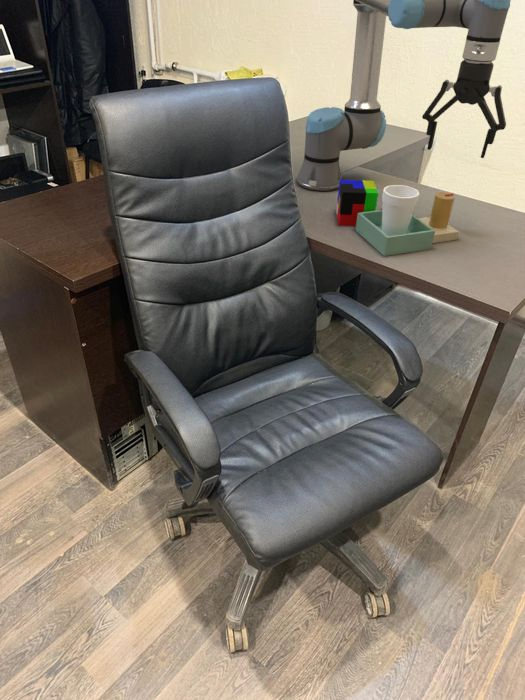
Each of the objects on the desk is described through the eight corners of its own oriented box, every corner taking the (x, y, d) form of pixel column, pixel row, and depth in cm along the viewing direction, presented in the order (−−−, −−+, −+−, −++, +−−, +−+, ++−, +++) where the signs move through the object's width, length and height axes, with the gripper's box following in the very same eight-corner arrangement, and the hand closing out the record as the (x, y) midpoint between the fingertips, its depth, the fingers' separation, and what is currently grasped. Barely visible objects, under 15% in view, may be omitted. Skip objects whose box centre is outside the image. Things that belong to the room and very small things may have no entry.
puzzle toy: (336, 211, 162) (339, 179, 156) (368, 212, 162) (373, 180, 155) (338, 225, 154) (342, 192, 148) (372, 226, 154) (378, 193, 148)
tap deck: (410, 227, 154) (412, 218, 152) (439, 223, 157) (441, 214, 155) (432, 243, 146) (434, 234, 144) (461, 238, 148) (463, 230, 147)
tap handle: (435, 229, 147) (443, 199, 142) (425, 222, 151) (431, 192, 145) (451, 227, 148) (459, 197, 143) (440, 219, 152) (447, 190, 147)
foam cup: (409, 246, 142) (419, 199, 134) (375, 242, 144) (383, 196, 136) (409, 231, 150) (418, 186, 142) (376, 227, 151) (383, 183, 143)
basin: (355, 230, 151) (357, 212, 148) (399, 224, 155) (402, 207, 152) (384, 256, 139) (387, 237, 136) (431, 248, 143) (435, 230, 140)
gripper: (421, 58, 126) (405, 148, 139) (533, 69, 117) (504, 164, 130) (428, 53, 131) (411, 141, 144) (535, 63, 123) (507, 155, 136)
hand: (455, 152), depth 137 cm, fingers open, 13 cm apart
